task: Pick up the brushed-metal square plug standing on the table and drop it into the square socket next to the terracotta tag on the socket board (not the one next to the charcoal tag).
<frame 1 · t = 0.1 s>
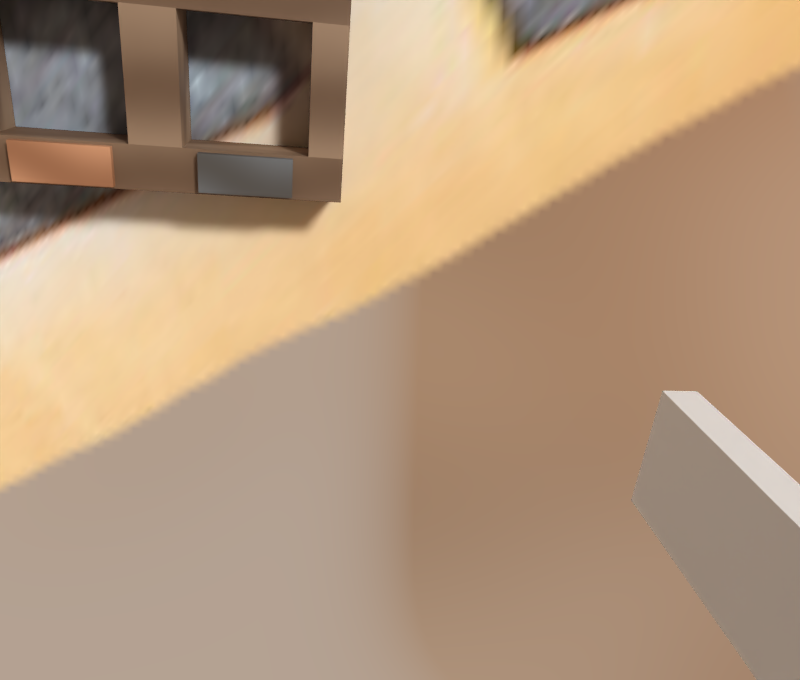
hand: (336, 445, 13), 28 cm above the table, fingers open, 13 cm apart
socket board: (163, 75, 35), on the table
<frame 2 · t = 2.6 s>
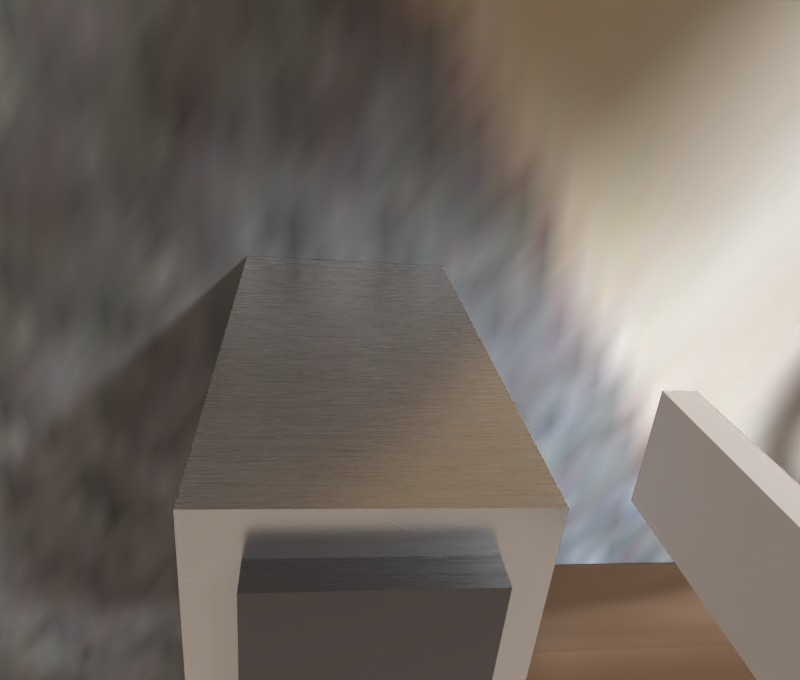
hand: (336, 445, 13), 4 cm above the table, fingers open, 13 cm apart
plug: (341, 348, 16), on the table
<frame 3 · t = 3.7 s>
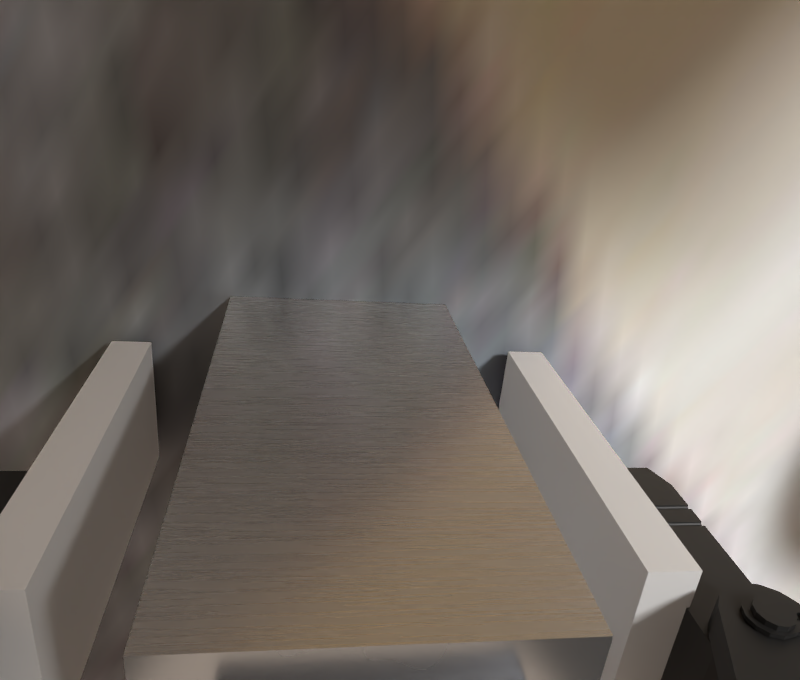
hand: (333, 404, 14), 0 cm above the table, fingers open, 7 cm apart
plug: (335, 394, 14), on the table
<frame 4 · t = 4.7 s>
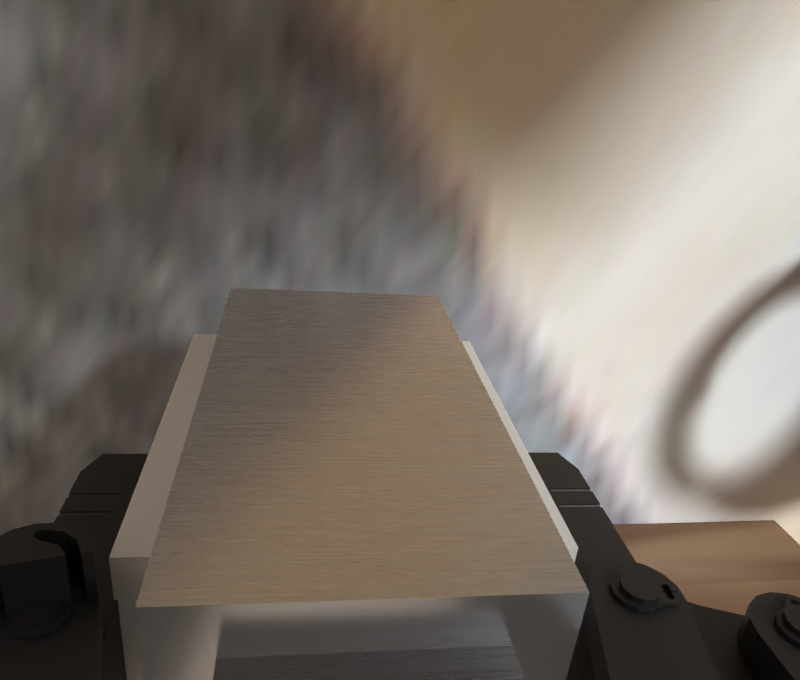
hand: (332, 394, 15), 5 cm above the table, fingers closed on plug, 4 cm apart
plug: (332, 383, 15), point 4 cm above the table, touching gripper
socket board: (510, 643, 25), on the table
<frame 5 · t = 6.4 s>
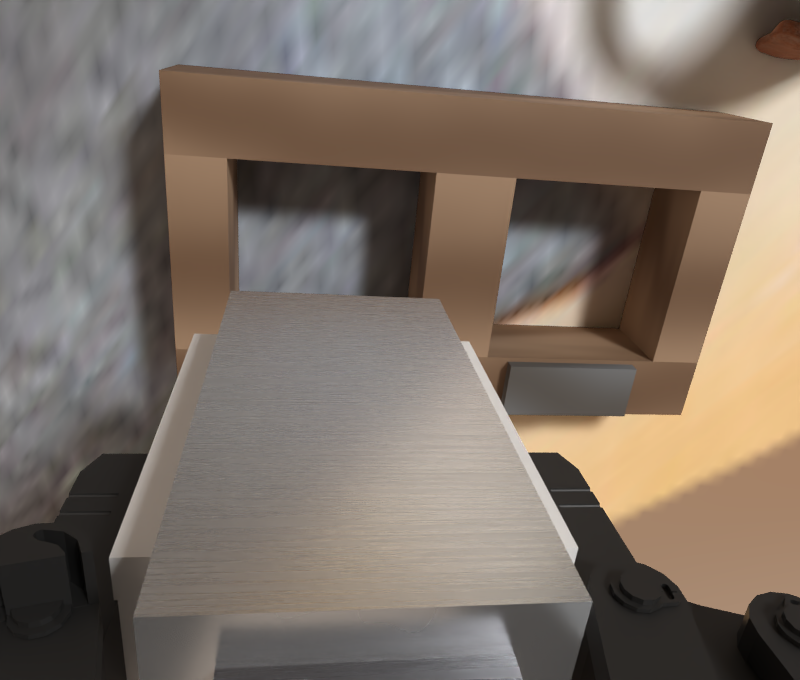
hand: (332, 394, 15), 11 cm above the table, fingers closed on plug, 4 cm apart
plug: (332, 386, 15), point 11 cm above the table, touching gripper
socket board: (447, 244, 25), on the table
when the fingers open (5 cm above the table, at t = 8.3 s): plug drops 4 cm, resting in socket board.
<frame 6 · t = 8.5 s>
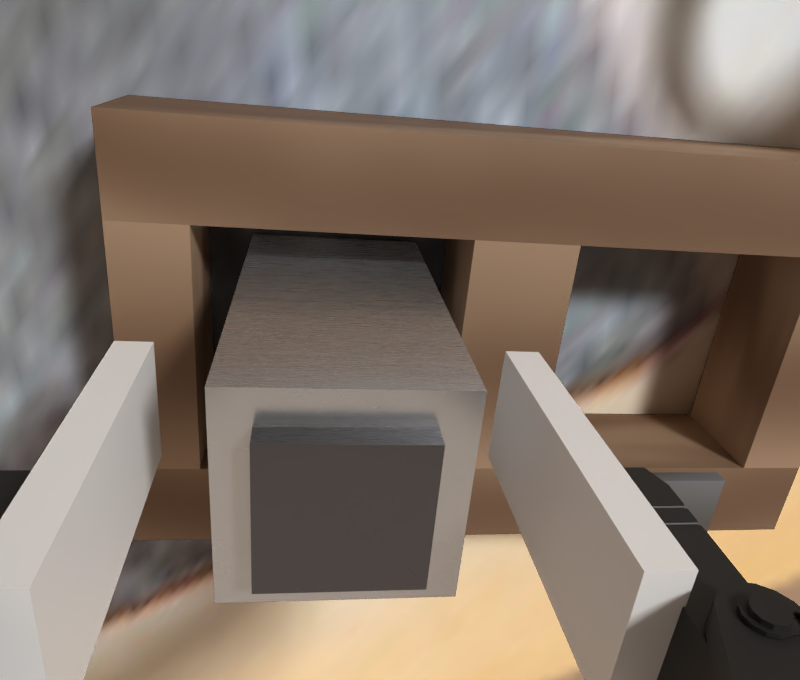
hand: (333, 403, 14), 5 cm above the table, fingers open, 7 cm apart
plug: (332, 312, 19), resting in socket board
socket board: (479, 319, 19), on the table
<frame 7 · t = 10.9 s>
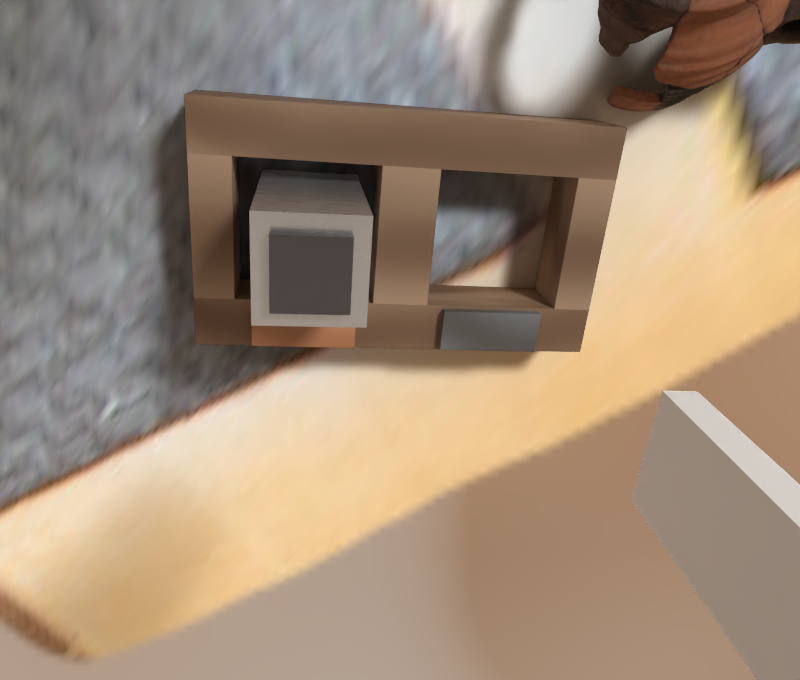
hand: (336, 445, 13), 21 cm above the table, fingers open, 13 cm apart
plug: (309, 217, 32), resting in socket board
socket board: (397, 222, 33), on the table
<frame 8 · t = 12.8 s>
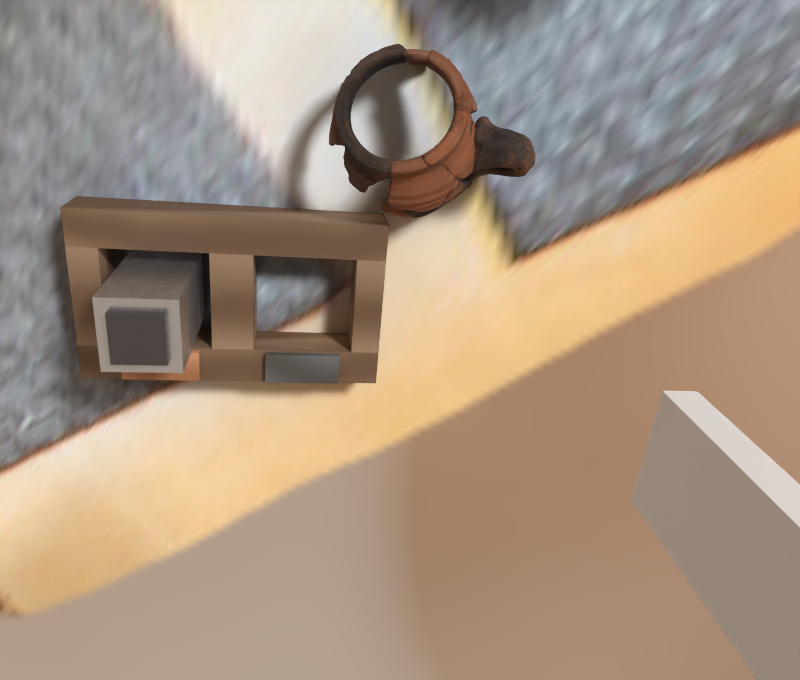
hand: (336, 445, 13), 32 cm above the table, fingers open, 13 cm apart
plug: (169, 283, 43), resting in socket board
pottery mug: (422, 136, 42), on the table
socket board: (236, 286, 44), on the table
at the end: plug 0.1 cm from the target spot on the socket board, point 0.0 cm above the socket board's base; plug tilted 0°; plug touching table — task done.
